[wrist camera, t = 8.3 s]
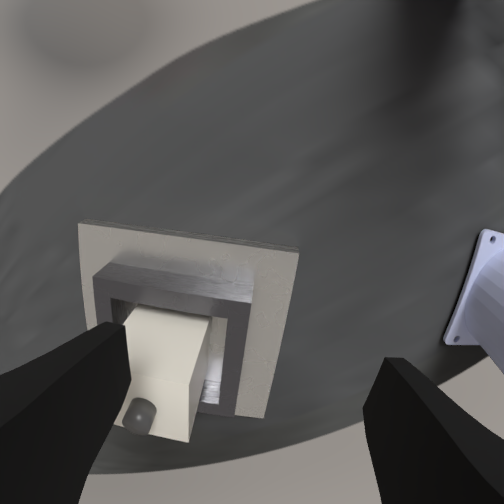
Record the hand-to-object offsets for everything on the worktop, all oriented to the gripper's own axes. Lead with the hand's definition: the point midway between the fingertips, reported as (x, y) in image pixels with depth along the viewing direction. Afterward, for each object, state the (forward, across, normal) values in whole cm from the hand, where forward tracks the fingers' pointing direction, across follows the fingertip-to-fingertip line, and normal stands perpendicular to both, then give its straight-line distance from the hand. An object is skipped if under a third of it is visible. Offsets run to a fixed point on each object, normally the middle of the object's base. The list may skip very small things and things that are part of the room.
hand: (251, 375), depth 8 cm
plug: (+8, +4, +5) cm, 11 cm away
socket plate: (+9, +4, +5) cm, 11 cm away
